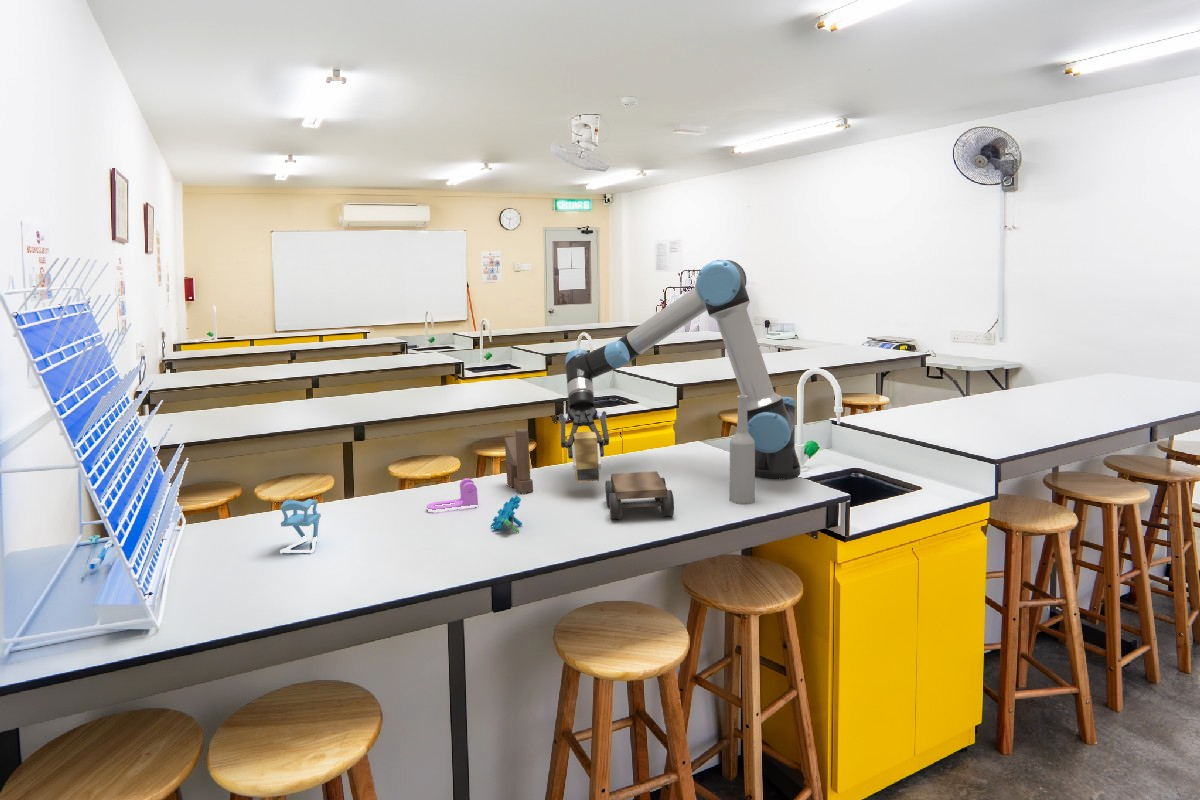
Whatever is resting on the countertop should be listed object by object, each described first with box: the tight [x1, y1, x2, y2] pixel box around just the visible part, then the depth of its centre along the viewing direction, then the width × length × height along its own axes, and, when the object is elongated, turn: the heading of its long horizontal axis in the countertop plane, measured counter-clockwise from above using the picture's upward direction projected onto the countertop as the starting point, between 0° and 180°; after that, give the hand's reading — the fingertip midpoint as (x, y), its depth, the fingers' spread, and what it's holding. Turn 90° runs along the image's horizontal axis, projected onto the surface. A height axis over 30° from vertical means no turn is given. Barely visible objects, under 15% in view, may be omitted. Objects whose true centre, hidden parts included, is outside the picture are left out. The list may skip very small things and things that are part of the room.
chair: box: [280, 498, 322, 538], centre depth 170 cm, size 8×8×12 cm
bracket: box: [426, 477, 479, 510], centre depth 195 cm, size 13×6×7 cm, turn 109°
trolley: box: [604, 471, 675, 520], centre depth 189 cm, size 15×17×8 cm
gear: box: [490, 495, 523, 533], centre depth 179 cm, size 11×6×10 cm
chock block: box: [573, 430, 600, 483], centre depth 202 cm, size 6×8×12 cm
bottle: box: [728, 394, 756, 505], centre depth 192 cm, size 7×7×28 cm
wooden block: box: [504, 427, 534, 494], centre depth 209 cm, size 4×11×18 cm, turn 30°
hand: (587, 466), depth 199 cm, fingers closed on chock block, 6 cm apart
